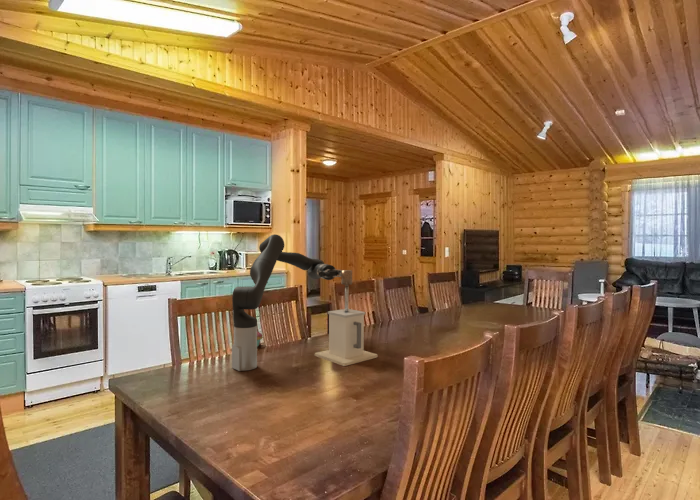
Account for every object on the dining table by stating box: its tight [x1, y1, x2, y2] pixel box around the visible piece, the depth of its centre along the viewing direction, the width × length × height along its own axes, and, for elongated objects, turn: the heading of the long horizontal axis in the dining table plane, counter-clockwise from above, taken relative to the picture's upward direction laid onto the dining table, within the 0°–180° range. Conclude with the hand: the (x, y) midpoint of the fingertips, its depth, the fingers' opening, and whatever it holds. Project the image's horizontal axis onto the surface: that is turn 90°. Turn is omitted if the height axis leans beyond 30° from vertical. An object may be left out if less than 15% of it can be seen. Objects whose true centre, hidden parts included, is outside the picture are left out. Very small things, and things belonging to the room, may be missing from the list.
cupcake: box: [257, 330, 263, 347], centre depth 215 cm, size 9×8×12 cm
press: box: [314, 308, 378, 367], centre depth 198 cm, size 20×20×20 cm
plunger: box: [340, 269, 353, 313], centre depth 197 cm, size 9×9×24 cm
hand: (337, 274), depth 207 cm, fingers open, 8 cm apart
